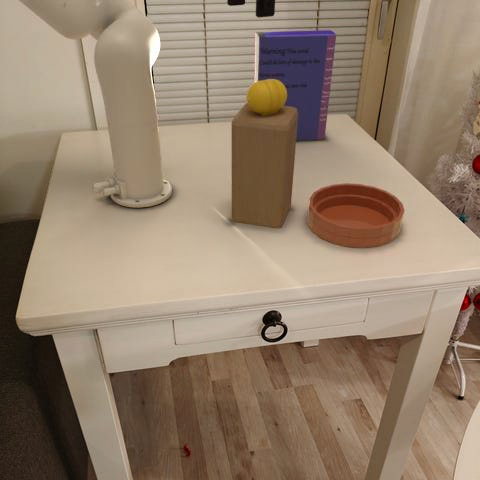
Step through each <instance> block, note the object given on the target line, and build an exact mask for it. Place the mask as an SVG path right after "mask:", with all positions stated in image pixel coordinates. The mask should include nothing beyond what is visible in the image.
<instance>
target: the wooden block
mask: <svg viewBox="0 0 480 480" xmlns="http://www.w3.org/2000/svg"><path fill="white" fill-rule="evenodd" d="M297 124H298V111H297V108H294V107H289V106H283V107H282V108H281V109H280V110H278V111H277V113H273V114H268V115H263V116H262V115H261V114H258V113H255V112H254V111H252V110H251V109H250V107H249V106H248V104H247V102H246V103H244V104H243V106H242V107H241V109H240V110H239V111H238V112H237V113H236V115H235V116H234V117H233V119H232V121H231V220H232V222H234V223H240V224H247V225H254V226H261V227H266V228H274V229H280V228H282V226H283V225H284V222H285V220H286V217H287V215H288V213H289V211H290V209H291V207H292V200H293V188H294V187H293V186H294V175H295V174H294V173H295V160H296V149H297V141H296V137H297Z"/></svg>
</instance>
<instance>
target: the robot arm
mask: <svg viewBox="0 0 480 480" xmlns="http://www.w3.org/2000/svg"><path fill="white" fill-rule="evenodd" d="M18 2H20V3H22V4H23V5H24V6H25V7H26V8H28V9H29V10H30V11H31V12H32V13H34V14H35V15H36V16H37V17H38V18H40V19H41V20H42V21H44V22H45V23H46V24H47V25H48V26H49V27H51V28H52V29H53V30H54V31H55V32H57V33H58V34H59V35H61V36H62V37H64V38H66V39H69V40H72V41H73V40H75V41H77V40H81V39H84V38H86V37H88V36H89V35H90V36H91V37H92V38H94V39H95V40H96V43H95V45H94V46H95V47H94V50H93V51H94V52H93V53H94V55H93V60H94V69H95V72H96V77H97V80H98V83H99V87H100V90H101V91H100V92H101V95H102V100H103V107H104V112H105V118H106V123H107V130H108V137H109V143H110V150H111V155H112V162H113V163H112V164H113V168H114V172H111V173H110V178H107V180H106V181H100V182H96V183H95V182H94V183H93V184H92V189H93V192H94V193H95V194H100V193H103V195H104V196H105V197H107V196H110V198H111V200H112V201H113V202H114V203H115V204H118V205H120V206H123V207H127V208H148V207H153V206H157V205H159V204H162V203H164V202H165V201H167V200H168V199H169V198H171V196H172V193H173V189H172V185H171V183H170V182H169V181H167V180H166V179H165V178H164V171H163V162H162V151H161V150H162V149H161V142H160V141H161V140H160V128H159V127H160V126H159V117H158V108H157V100H156V93H155V92H156V91H155V87H154V83H153V76H152V75H153V74H152V67H153V65H154V63H155V61H157V58H158V56H159V53H160V49H161V40H160V35H159V32H158V29H157V28H156V26H155V25H154V23H153V22H152V20H150V18H148V16H146V14H145V13H144V12H142V10H140V9H139V8H138V7H136V6H135V5H134V3H132V2H131V1H130V0H18ZM226 3H227V6H229V7H233V6H245V4H246V0H227V1H226ZM275 11H276V0H255V16H256V18H269V17H274V16H275Z"/></svg>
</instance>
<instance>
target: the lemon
mask: <svg viewBox="0 0 480 480" xmlns="http://www.w3.org/2000/svg"><path fill="white" fill-rule="evenodd" d="M245 100H246V103H247V104H248V106H249V107H250V109H251V110H252V111H254V112H255V113H258V114H261V115H262V116H263V115H268V114H273V113H277V111H278V110H280V109H281V108H282V107H283V106H284V104H285V103H286V100H287V90H286V88H285V86H284V84H283V83H282V82H280V81H279V80H276V79H267V80H262V81H257V82H255V83H254V82H253V83H252V84H251V85H250V86H249V87H248V89H247V92H246V99H245Z"/></svg>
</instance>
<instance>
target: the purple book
mask: <svg viewBox="0 0 480 480" xmlns="http://www.w3.org/2000/svg"><path fill="white" fill-rule="evenodd" d="M254 40H255V42H254V43H255V44H254V80H253V83H255V82H257V81H262V80H267V79H276V80H279V81H280V82H282V83H283V84H284V86H285V88H286V90H287V100H286V103H285V104H284V106H289V107H294V108H297V111H298V124H297V137H296V142H310V141H311V142H312V141H325V140H326V139H325V138H326V129H327V122H328V121H327V120H328V113H329V102H330V95H331V94H330V93H331V86H332V79H333V78H332V76H333V69H334V67H333V66H334V59H335V49H336V41H337V34H336V33H335V32H334V31H333V30H331V29H327V30H326V29H324V30H323V29H319V30H285V31H282V30H281V31H280V30H279V31H278V30H277V31H255V39H254Z"/></svg>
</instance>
